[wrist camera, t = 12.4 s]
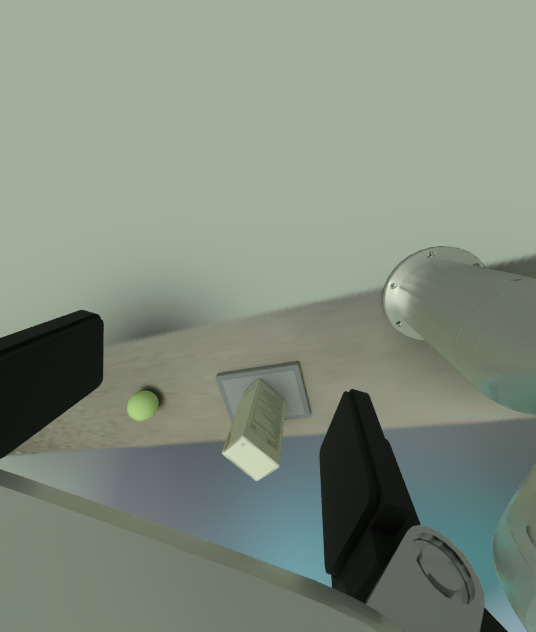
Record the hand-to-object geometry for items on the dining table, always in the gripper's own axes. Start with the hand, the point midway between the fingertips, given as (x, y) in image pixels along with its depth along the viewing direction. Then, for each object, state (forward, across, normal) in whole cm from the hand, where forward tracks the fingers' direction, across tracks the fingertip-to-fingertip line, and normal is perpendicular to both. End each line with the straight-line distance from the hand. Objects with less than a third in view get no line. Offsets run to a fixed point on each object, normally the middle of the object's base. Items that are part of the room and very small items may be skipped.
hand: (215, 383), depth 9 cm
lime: (+28, +18, +29) cm, 44 cm away
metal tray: (+28, -2, +21) cm, 35 cm away
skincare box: (+27, -2, +21) cm, 35 cm away
